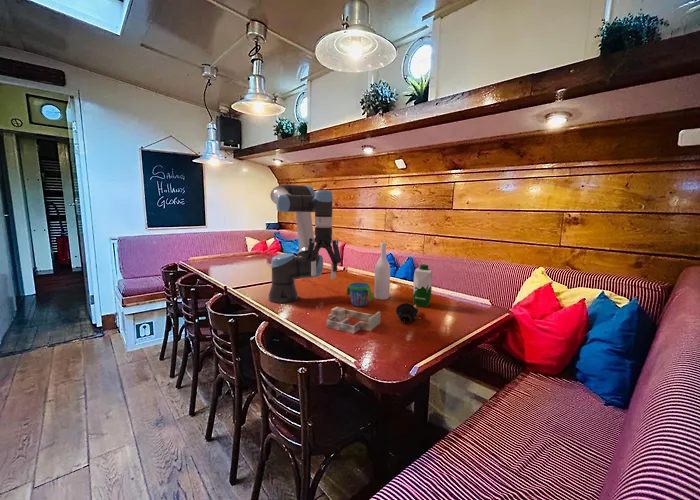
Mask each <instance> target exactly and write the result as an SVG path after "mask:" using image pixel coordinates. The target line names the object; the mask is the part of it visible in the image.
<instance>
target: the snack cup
mask: <svg viewBox="0 0 700 500" xmlns="http://www.w3.org/2000/svg"><path fill="white" fill-rule="evenodd" d="M346 288H347V290H346V294H347V295H348V296H350V301H351V305H352V306H354V307H365V306H366V305H367V303H368V302H371V301H373V292H372V290H371V284H370V283H366V282H352V283H349V284H348V286H347V287H346Z"/></svg>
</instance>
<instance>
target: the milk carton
mask: <svg viewBox="0 0 700 500" xmlns="http://www.w3.org/2000/svg"><path fill="white" fill-rule="evenodd" d="M419 266H420V267H416V269H415V270H414V274H413V289H412V290H413V291H412V303H413V304H412V305H413V306H414V304H416V307H423V308H428V307H429V305H430V302H431V298H432V288H433V287H432V285H433V269H431V268H429V265H428V264H419Z"/></svg>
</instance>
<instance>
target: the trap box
mask: <svg viewBox="0 0 700 500" xmlns="http://www.w3.org/2000/svg"><path fill="white" fill-rule="evenodd" d="M350 318H351V319H356V320H360V321H358V322H356V323H355V324H354V325H353V324H350ZM380 324H381V311H377V312H376V313H375V314H371V313H366V312H361V311H357V310H351V309H347V308H345V318H344V319H343V320H341V321H336V315H332V314H331V313H329V314H327V319H326V323H325V325H326V328H329V329H331V330H336V331H340V332H344V333H348V334H353V335H354V334H356V333H357V332H359V331H360V330H364V331H365V332H371V331H372V330H374V329H375V328H376V327H377V326H379V325H380Z"/></svg>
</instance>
